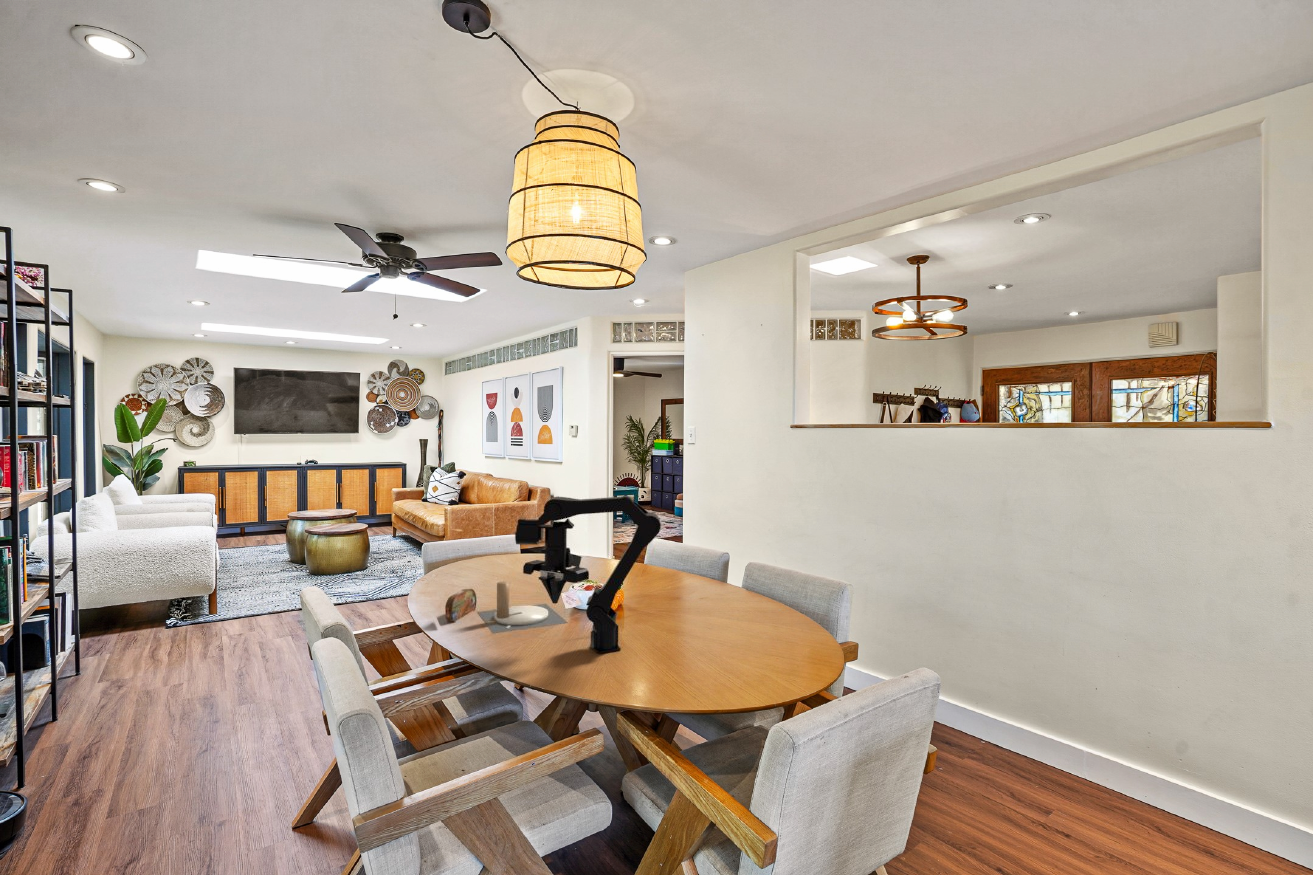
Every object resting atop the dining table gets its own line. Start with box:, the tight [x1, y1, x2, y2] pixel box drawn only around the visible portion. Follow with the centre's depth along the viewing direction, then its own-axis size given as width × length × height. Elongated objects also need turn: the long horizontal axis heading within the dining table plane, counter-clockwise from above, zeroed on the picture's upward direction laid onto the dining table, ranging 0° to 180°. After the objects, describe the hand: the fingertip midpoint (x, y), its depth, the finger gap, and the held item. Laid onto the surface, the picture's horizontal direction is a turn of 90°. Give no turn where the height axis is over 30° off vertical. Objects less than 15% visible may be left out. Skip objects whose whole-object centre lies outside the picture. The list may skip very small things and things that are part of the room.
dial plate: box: [476, 603, 569, 634], centre depth 192 cm, size 22×22×1 cm
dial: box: [494, 581, 548, 625], centre depth 192 cm, size 16×16×11 cm
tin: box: [444, 588, 478, 623], centre depth 193 cm, size 15×3×8 cm, turn 168°
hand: (555, 603), depth 168 cm, fingers closed
